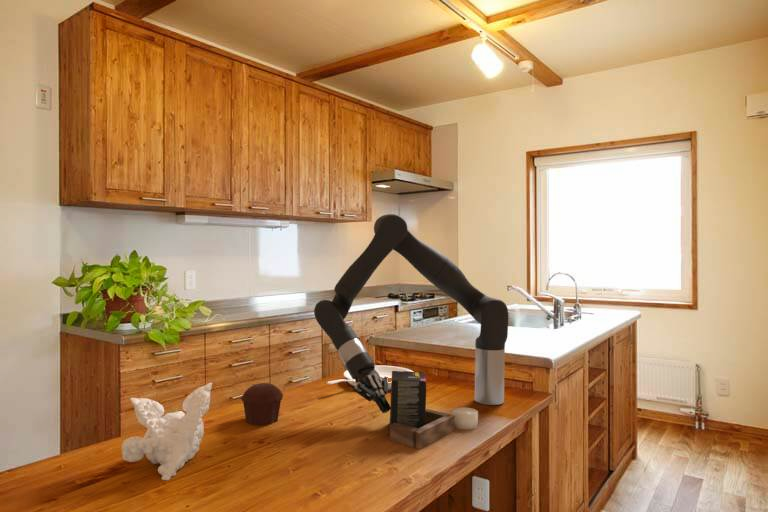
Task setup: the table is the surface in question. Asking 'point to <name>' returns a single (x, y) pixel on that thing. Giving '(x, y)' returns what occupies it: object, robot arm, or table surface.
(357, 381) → the robot arm
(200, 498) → the table surface
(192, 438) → the white animal figurine
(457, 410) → the rounded cream block
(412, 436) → the frame
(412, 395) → the tampon box
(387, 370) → the pan
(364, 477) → the table surface
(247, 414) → the muffin
